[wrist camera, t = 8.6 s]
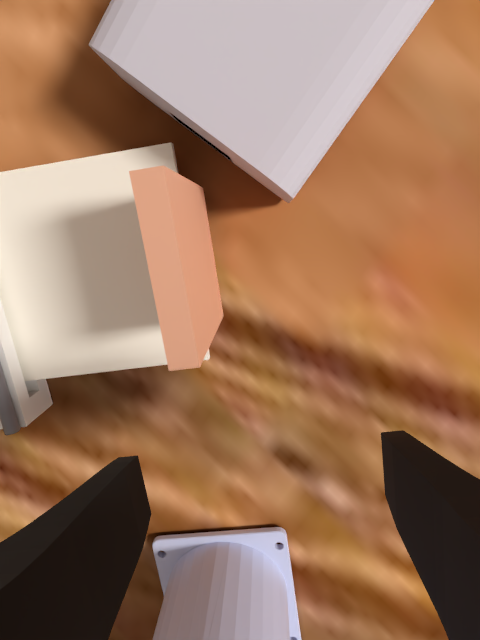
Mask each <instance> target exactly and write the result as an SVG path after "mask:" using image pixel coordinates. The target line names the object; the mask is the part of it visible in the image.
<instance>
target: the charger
mask: <svg viewBox="0 0 480 640" xmlns="http://www.w3.org/2000/svg"><path fill="white" fill-rule="evenodd" d="M433 2H434V0H111V2H110V4H109V6H108V8H107V10H106V12H105V14H104V15H103V17H102V19H101V21H100V23H99V25H98V27H97V29H96V31H95V33H94V35H93V37H92V39H91V41H90V43H89V46H90V47H91V48H92V49H93V50H94V51H95V52H96V53H97V54H98V55H99V56H100V57H101V58H102V59H103V60H104V61H105V62H106V63H107V64H108V65H109V66H110V67H111V68H112V69H113V70H114V71H115V72H116V73H117V74H118V75H119V76H120V77H121V78H122V79H123V80H124V81H125V82H127V83H128V84H129V85H130V86H132V87H133V88H134V89H135V90H137V91H138V92H139V93H140V94H142V95H143V96H144V97H146V98H147V99H148V100H150V101H151V102H152V103H154V104H155V105H156V106H158V107H159V108H160V109H162V110H163V111H164V112H166V113H167V114H168V115H170V116H171V117H172V118H174V117H173V116H172V115H171V114H173V115H174V116H175V117H177V118H178V119H179V120H181V121H182V122H183V123H185V124H186V125H187V126H189V127H190V128H191V129H193V130H194V131H195V132H197V133H198V134H199V135H201V136H202V137H203V138H205V139H206V140H208V141H209V142H210V143H212V144H213V145H214V146H216V147H217V148H218V149H220V150H221V151H222V152H224V153H225V154H226V155H228V156H229V157H230V159H231V160H232V161H231V160H230V161H231V162H233V163H234V164H235V165H237V166H238V167H239V168H241V169H242V170H243V171H245V172H246V173H247V174H249V175H250V176H251V177H253V178H254V179H255V180H257V181H258V182H259V183H261V184H262V185H263V186H265V187H266V188H268V189H269V190H270V191H272V192H273V193H274V194H276V195H277V196H279V197H280V198H282V199H283V200H285V201H286V202H288V203H289V202H290V201H291V200H293V198H294V197H295V196H296V194H297V193H298V191H299V190H300V189H301V187H302V186H303V184H304V183H305V182H306V180H307V179H308V177H309V176H310V175H311V173H312V172H313V170H314V169H315V167H316V166H317V165H318V163H319V162H320V160H321V159H322V158H323V156H324V155H325V153H326V152H327V151H328V149H329V148H330V146H331V145H332V144H333V142H334V141H335V139H336V138H337V137H338V135H339V134H340V132H341V131H342V130H343V128H344V127H345V125H346V124H347V123H348V121H349V120H350V118H351V117H352V115H353V114H354V113H355V111H356V110H357V108H358V107H359V106H360V104H361V103H362V101H363V100H364V99H365V97H366V96H367V94H368V93H369V92H370V90H371V89H372V87H373V86H374V85H375V83H376V82H377V80H378V79H379V78H380V76H381V75H382V73H383V72H384V71H385V69H386V68H387V66H388V65H389V63H390V62H391V61H392V59H393V58H394V56H395V55H396V54H397V52H398V51H399V49H400V48H401V47H402V45H403V44H404V42H405V41H406V40H407V38H408V37H409V35H410V34H411V33H412V31H413V30H414V28H415V27H416V26H417V24H418V23H419V21H420V20H421V19H422V17H423V16H424V14H425V13H426V11H427V10H428V9H429V7H430V6H431V4H432V3H433ZM170 113H171V114H170ZM174 119H175V118H174ZM175 120H176V119H175ZM176 121H177V120H176ZM179 123H180V122H179ZM180 124H181V123H180ZM183 126H184V125H183ZM184 127H185V126H184ZM187 129H188V128H187ZM188 130H189V129H188ZM191 132H192V131H191ZM192 133H193V132H192ZM195 135H196V134H195ZM196 136H197V135H196ZM199 138H200V137H199ZM200 139H201V138H200ZM203 141H204V140H203ZM204 142H205V141H204ZM207 144H208V143H207ZM208 145H209V144H208ZM211 147H212V146H211ZM212 148H213V147H212ZM215 150H216V149H215ZM219 153H220V152H219ZM223 156H224V155H223ZM227 159H228V158H227Z"/></svg>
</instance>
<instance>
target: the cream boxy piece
mask: <svg viewBox="0 0 480 640" xmlns="http://www.w3.org/2000/svg"><path fill="white" fill-rule="evenodd" d="M0 299H1V302H2V306H3V309H4V312H5V316H6V319H7V323H8V326H9V330H10V333H11V336H12V340H13V343H14V347H15V350H16V353H17V357H18V360H19V364H20V367H21V370H22V374H23V377H24V381H32V380H40V379H48V378H57V377H65V376H74V375H82V374H91V373H99V372H108V371H116V370H125V369H133V368H142V367H150V366H159V365H167V364H168V369H169V371H173V370H182V369H191V368H199V367H200V366H201V364H202V362H203V360H209V358H210V354H209V346H210V344H211V342H212V340H213V338H214V336H215V333H216V331H217V329H218V327H219V325H220V322H221V320H222V318H223V310H222V303H221V297H220V291H219V285H218V278H217V272H216V266H215V260H214V253H213V247H212V241H211V235H210V228H209V222H208V216H207V210H206V203H205V197H204V191H203V187H201V186H199V185H197V184H196V183H194V182H192V181H190V180H189V179H187V178H185V177H183V176H181V175H180V174H178V168H177V163H176V157H175V151H174V145H173V143H171V142H170V143H165V144H159V145H153V146H148V147H142V148H136V149H130V150H125V151H119V152H113V153H107V154H102V155H96V156H90V157H85V158H79V159H73V160H67V161H62V162H56V163H50V164H45V165H39V166H33V167H27V168H22V169H16V170H10V171H4V172H0Z"/></svg>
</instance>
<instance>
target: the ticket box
mask: <svg viewBox="0 0 480 640" xmlns="http://www.w3.org/2000/svg"><path fill="white" fill-rule="evenodd" d="M51 405H53V402H52V399H51V395H50V391H49V388H48V384H47V381H46V379H40V380H32V381H24V377H23V374H22V370H21V367H20V364H19V360H18V357H17V353H16V350H15V347H14V343H13V340H12V336H11V333H10V330H9V326H8V323H7V319H6V316H5V312H4V309H3V306H2V302H1V299H0V429H3V430H4V433H5V435H11V434H14V433H16V432H18V431H19V430H20V429H21V428H20V427H27V426H28V425H29V424H30V423H31V422H32V421H34V420H35V419H36V418H37V417H38V416H40V415H41V414H42V413H43V412H44V411H45V410H47V409H48V408H49V407H50V406H51Z"/></svg>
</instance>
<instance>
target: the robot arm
mask: <svg viewBox="0 0 480 640" xmlns="http://www.w3.org/2000/svg"><path fill="white" fill-rule="evenodd" d="M381 440H382V454H383V469H384V483H385V495H386V498H387V501H388V504H389V507H390V510H391V513H392V516H393V519H394V522H395V524H396V527H397V530H398V532H399V534H400V536H401V538H402V540H403V543H404V545H405V547H406V549H407V551H408V553H409V555H410V557H411V559H412V561H413V563H414V565H415V567H416V570H417V572H418V574H419V576H420V578H421V580H422V582H423V584H424V586H425V588H426V590H427V592H428V594H429V596H430V598H431V600H432V602H433V605H434V607H435V609H436V611H437V613H438V615H439V617H440V620H441V622H442V624H443V626H444V629H445V631H446V633H447V636H448V639H449V640H480V479H478V478H476V477H474V476H473V475H471V474H469V473H468V472H466V471H464V470H463V469H461V468H459V467H458V466H456V465H455V464H453V463H451V462H450V461H448V460H447V459H445V458H444V457H442V456H441V455H439V454H438V453H436V452H435V451H433V450H432V449H430V448H429V447H427V446H426V445H424V444H423V443H421V442H420V441H418V440H417V439H416V438H414V437H413V436H411V435H410V434H408V433H406V432H405V431H392V432H382V433H381ZM150 516H151V510H150V506H149V502H148V498H147V493H146V489H145V485H144V480H143V476H142V472H141V467H140V463H139V459H138V456H130V457H119V458H117V459H116V460H114V461H113V462H111V463H110V464H108V465H107V466H106V467H104V468H103V469H102V470H100V471H99V472H98V473H96V474H95V475H94V476H93V477H91V478H90V479H89V480H88V481H86V482H85V483H84V484H82V485H81V486H80V487H79V488H77V489H76V490H75V491H73V492H72V493H71V494H70V495H68V496H67V497H66V498H64V499H63V500H62V501H60V502H59V503H58V504H56V505H55V506H53V507H52V508H51V509H49V510H48V511H47V512H45V513H44V514H42V515H41V516H40V517H38V518H37V519H36V520H34V521H33V522H31V523H30V524H28V525H27V526H26V527H24V528H23V529H21V530H20V531H18V532H16V533H15V534H13V535H12V536H10V537H9V538H7V539H5V540H4V541H2V542H1V543H0V640H108V638H109V635H110V632H111V629H112V627H113V624H114V621H115V619H116V616H117V614H118V611H119V608H120V606H121V603H122V601H123V598H124V596H125V593H126V590H127V588H128V585H129V583H130V580H131V578H132V575H133V572H134V570H135V567H136V565H137V562H138V559H139V557H140V554H141V551H142V548H143V545H144V541H145V537H146V534H147V530H148V525H149V521H150ZM278 542H280V543H282V544H276V543H278ZM152 548H153V552H154V557H155V561H156V565H157V569H158V573H159V578H160V582H161V586H162V590H163V595H164V599H163V603H162V606H161V610H160V614H159V617H158V621H157V625H156V628H155V632H154V636H153V640H301V633H300V626H299V619H298V612H297V604H296V597H295V590H294V583H293V576H292V569H291V562H290V554H289V547H288V540H287V533H286V531H285V530H284V529H283V528H281V527H270V528H257V529H243V530H230V531H216V532H203V533H189V534H176V535H162V536H157V537H156V538H155V539H154V541H153V544H152ZM161 551H164V552H161Z"/></svg>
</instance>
